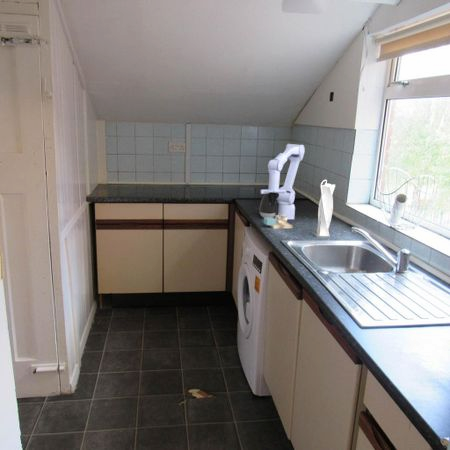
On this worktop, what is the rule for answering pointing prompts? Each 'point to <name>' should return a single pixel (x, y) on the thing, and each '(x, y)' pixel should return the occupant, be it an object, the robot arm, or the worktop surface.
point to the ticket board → (281, 222)
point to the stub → (269, 221)
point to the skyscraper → (325, 210)
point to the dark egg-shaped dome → (267, 207)
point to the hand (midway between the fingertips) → (272, 206)
